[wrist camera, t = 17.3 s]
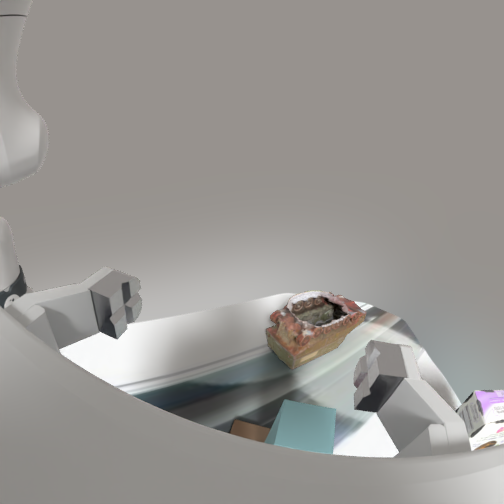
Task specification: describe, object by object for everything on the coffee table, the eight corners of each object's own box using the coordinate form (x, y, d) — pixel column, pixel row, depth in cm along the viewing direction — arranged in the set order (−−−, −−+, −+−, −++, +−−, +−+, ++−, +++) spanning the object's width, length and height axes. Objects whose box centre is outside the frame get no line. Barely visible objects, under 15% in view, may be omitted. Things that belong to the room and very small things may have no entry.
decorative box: (249, 329, 53) (257, 288, 49) (326, 311, 62) (338, 276, 58) (282, 377, 43) (296, 336, 39) (362, 347, 52) (380, 310, 47)
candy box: (466, 447, 26) (527, 386, 19) (470, 472, 21) (539, 413, 14) (408, 451, 28) (474, 387, 21) (410, 482, 23) (486, 423, 16)
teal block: (249, 484, 24) (274, 444, 18) (258, 453, 28) (284, 399, 22) (289, 492, 23) (332, 453, 17) (295, 460, 27) (335, 408, 22)
